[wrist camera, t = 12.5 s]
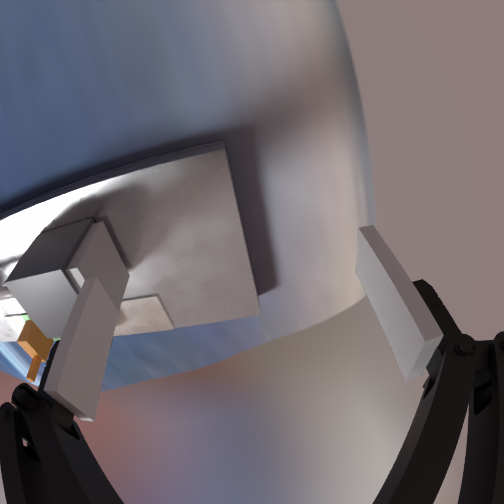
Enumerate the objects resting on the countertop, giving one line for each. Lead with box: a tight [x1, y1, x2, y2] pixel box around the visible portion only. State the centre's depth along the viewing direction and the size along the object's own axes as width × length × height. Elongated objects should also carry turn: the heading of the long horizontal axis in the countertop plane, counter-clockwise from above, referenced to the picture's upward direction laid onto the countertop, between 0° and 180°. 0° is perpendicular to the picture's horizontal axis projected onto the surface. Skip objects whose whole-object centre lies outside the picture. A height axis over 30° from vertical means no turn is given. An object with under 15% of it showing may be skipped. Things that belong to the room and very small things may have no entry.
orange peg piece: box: [17, 320, 54, 382], centre depth 20 cm, size 2×3×5 cm, turn 9°
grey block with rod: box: [0, 218, 130, 347], centre depth 18 cm, size 14×10×5 cm
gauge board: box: [0, 140, 261, 342], centre depth 18 cm, size 30×13×8 cm, turn 99°
